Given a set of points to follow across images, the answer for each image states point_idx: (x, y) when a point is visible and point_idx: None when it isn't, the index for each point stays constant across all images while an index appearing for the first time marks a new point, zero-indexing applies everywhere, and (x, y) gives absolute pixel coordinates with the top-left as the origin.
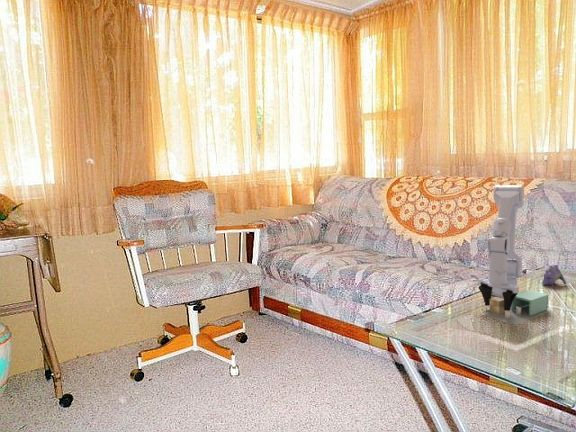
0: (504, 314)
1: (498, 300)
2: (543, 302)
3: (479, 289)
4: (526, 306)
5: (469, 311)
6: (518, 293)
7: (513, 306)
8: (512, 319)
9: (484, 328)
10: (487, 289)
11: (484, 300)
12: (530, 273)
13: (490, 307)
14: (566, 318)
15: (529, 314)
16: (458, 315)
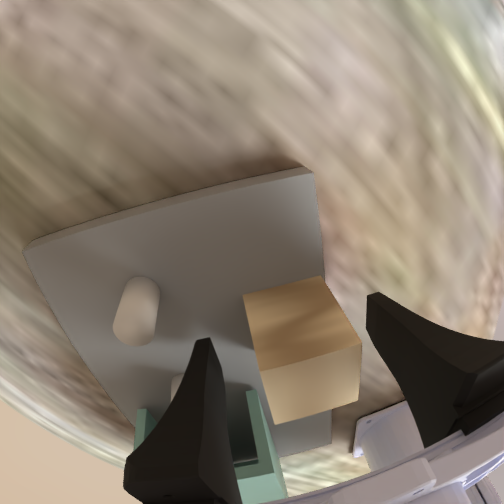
0: (219, 323)
1: (284, 381)
2: None
3: (492, 341)
4: None
5: (421, 186)
6: (277, 494)
7: (250, 413)
8: (115, 307)
9: (102, 41)
10: (438, 400)
11: (401, 308)
12: None
13: (324, 296)
14: None
15: (143, 411)
16: (407, 62)
